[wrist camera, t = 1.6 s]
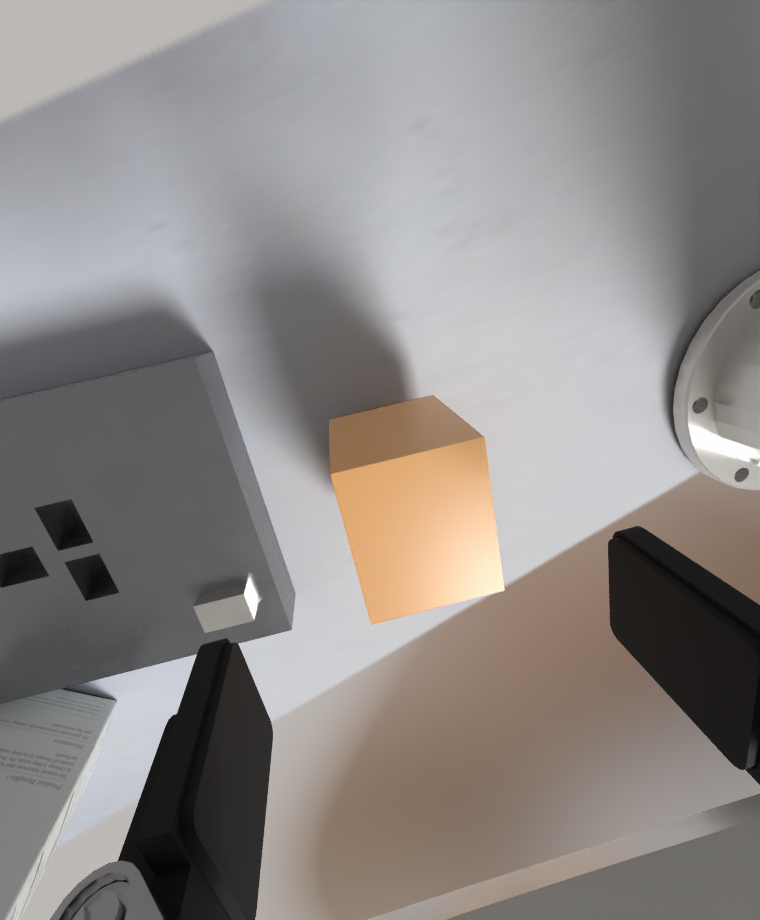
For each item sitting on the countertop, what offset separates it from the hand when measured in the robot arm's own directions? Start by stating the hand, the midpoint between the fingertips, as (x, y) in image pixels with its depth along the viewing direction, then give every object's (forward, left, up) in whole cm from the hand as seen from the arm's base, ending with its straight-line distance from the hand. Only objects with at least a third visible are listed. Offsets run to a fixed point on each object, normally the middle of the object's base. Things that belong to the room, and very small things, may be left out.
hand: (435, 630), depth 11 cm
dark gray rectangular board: (+15, 0, -13) cm, 20 cm away
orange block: (-1, 0, -13) cm, 13 cm away
